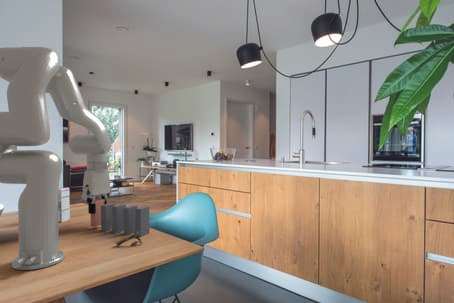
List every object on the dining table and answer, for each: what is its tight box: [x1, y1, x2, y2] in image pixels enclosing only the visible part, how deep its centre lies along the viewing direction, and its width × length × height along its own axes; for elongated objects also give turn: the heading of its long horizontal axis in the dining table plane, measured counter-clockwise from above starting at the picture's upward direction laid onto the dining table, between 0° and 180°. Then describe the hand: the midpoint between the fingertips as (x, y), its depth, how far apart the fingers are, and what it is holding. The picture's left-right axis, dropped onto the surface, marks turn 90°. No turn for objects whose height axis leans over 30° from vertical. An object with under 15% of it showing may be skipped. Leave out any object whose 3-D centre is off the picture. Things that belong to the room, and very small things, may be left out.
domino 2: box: [100, 202, 116, 233], centre depth 114 cm, size 2×5×10 cm, turn 158°
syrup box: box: [58, 187, 71, 223], centre depth 128 cm, size 6×6×14 cm
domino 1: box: [89, 198, 105, 228], centre depth 116 cm, size 2×5×10 cm, turn 158°
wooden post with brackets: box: [115, 232, 143, 248], centre depth 96 cm, size 2×8×4 cm, turn 105°
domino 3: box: [111, 203, 127, 234], centre depth 112 cm, size 2×5×10 cm, turn 158°
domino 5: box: [135, 206, 150, 238], centre depth 108 cm, size 2×5×10 cm, turn 158°
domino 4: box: [123, 204, 139, 236], centre depth 110 cm, size 2×5×10 cm, turn 158°
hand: (97, 211), depth 116 cm, fingers closed on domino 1, 4 cm apart
